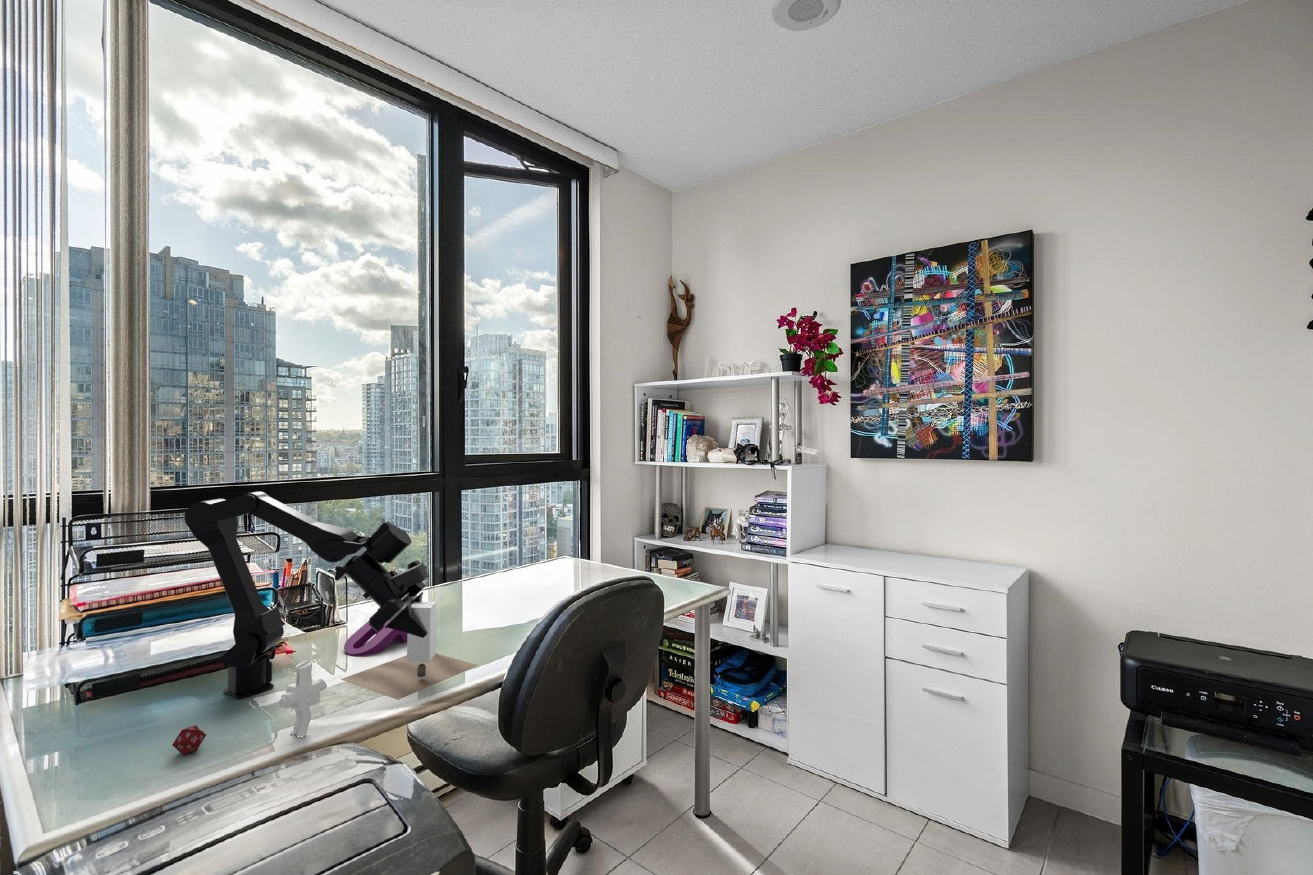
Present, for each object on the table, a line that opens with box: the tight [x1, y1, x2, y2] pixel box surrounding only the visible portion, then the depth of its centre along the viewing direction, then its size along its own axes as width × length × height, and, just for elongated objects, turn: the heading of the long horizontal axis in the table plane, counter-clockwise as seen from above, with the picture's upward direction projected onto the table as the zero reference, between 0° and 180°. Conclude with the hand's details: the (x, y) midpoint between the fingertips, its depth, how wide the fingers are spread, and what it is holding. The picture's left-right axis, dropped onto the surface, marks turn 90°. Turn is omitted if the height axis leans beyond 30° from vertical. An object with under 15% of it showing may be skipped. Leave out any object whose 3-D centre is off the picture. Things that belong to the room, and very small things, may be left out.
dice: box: [171, 725, 207, 756], centre depth 96 cm, size 4×4×4 cm
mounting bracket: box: [343, 620, 407, 657], centre depth 144 cm, size 9×8×18 cm
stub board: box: [341, 652, 478, 700], centre depth 126 cm, size 20×18×4 cm
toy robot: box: [278, 660, 328, 737], centre depth 103 cm, size 4×8×12 cm, turn 155°
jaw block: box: [406, 601, 437, 663], centre depth 122 cm, size 4×4×11 cm
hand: (428, 632), depth 123 cm, fingers closed on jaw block, 4 cm apart
